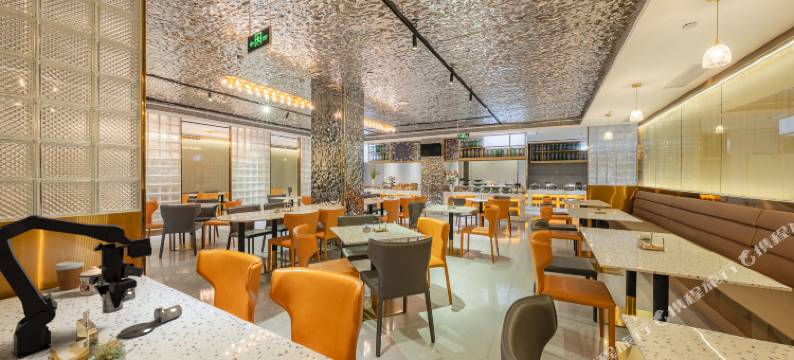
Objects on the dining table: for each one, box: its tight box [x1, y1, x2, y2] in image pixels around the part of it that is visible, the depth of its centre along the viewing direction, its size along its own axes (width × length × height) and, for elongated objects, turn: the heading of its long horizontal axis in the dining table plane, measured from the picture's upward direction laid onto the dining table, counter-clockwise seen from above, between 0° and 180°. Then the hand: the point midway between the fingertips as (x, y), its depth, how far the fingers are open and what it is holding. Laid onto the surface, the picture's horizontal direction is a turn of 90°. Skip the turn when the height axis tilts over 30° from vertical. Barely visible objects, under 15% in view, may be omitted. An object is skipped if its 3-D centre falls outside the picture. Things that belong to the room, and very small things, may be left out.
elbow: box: [101, 287, 136, 314], centre depth 105 cm, size 9×5×6 cm, turn 155°
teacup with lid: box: [79, 265, 101, 296], centre depth 136 cm, size 12×9×12 cm
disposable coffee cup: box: [54, 260, 85, 292], centre depth 141 cm, size 10×10×12 cm
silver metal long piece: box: [119, 304, 183, 340], centre depth 106 cm, size 17×9×6 cm, turn 155°
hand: (112, 306), depth 104 cm, fingers closed on elbow, 5 cm apart
